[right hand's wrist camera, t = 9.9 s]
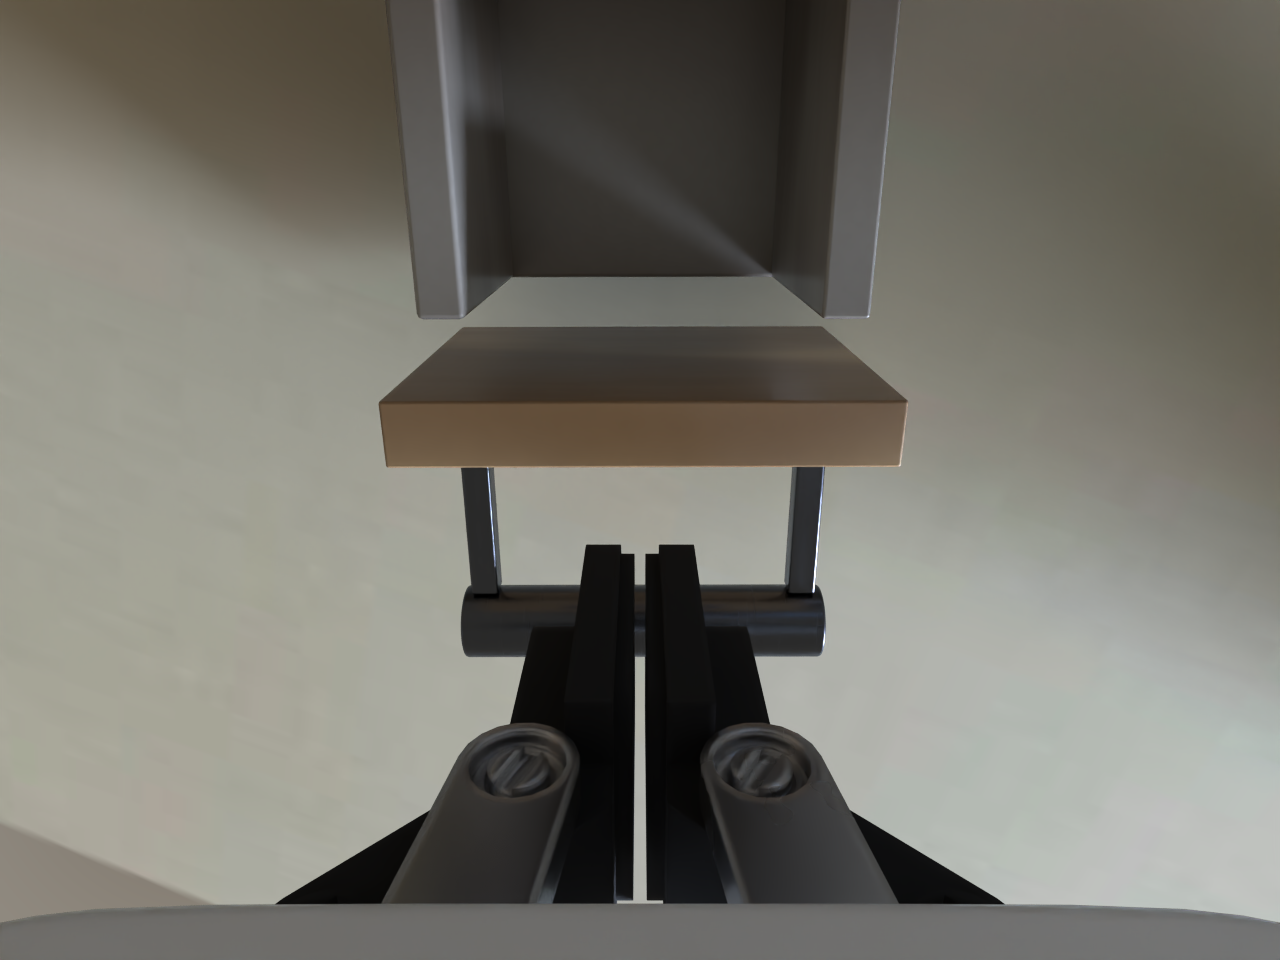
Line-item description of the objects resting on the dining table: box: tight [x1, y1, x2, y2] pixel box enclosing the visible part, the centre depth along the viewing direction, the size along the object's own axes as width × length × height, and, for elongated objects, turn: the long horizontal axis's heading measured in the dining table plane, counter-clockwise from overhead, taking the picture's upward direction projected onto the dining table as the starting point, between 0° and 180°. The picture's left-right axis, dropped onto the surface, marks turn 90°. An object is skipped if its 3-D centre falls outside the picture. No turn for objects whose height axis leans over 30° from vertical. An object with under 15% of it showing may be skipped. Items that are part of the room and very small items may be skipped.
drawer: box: [379, 0, 908, 657], centre depth 16 cm, size 20×9×7 cm, turn 0°
